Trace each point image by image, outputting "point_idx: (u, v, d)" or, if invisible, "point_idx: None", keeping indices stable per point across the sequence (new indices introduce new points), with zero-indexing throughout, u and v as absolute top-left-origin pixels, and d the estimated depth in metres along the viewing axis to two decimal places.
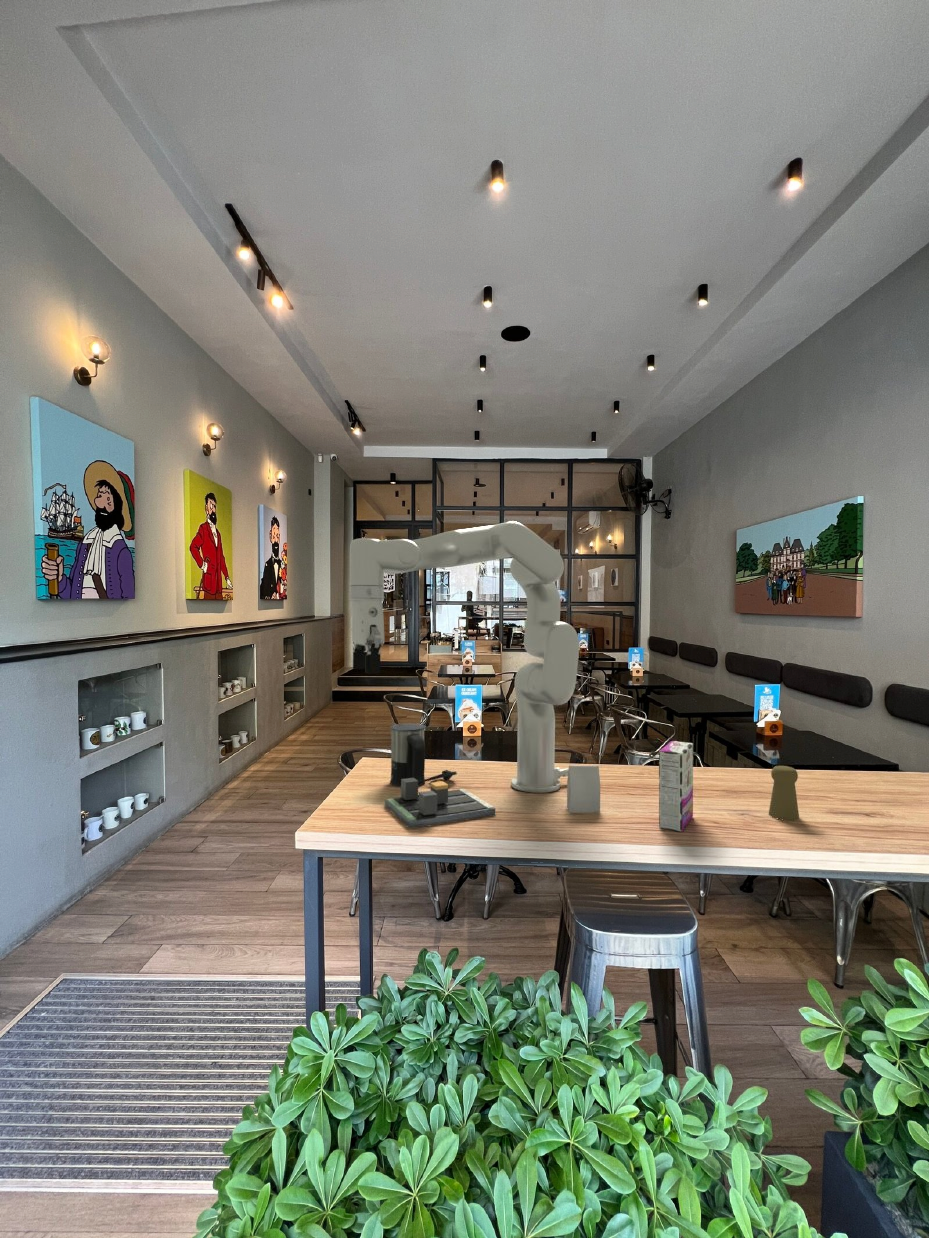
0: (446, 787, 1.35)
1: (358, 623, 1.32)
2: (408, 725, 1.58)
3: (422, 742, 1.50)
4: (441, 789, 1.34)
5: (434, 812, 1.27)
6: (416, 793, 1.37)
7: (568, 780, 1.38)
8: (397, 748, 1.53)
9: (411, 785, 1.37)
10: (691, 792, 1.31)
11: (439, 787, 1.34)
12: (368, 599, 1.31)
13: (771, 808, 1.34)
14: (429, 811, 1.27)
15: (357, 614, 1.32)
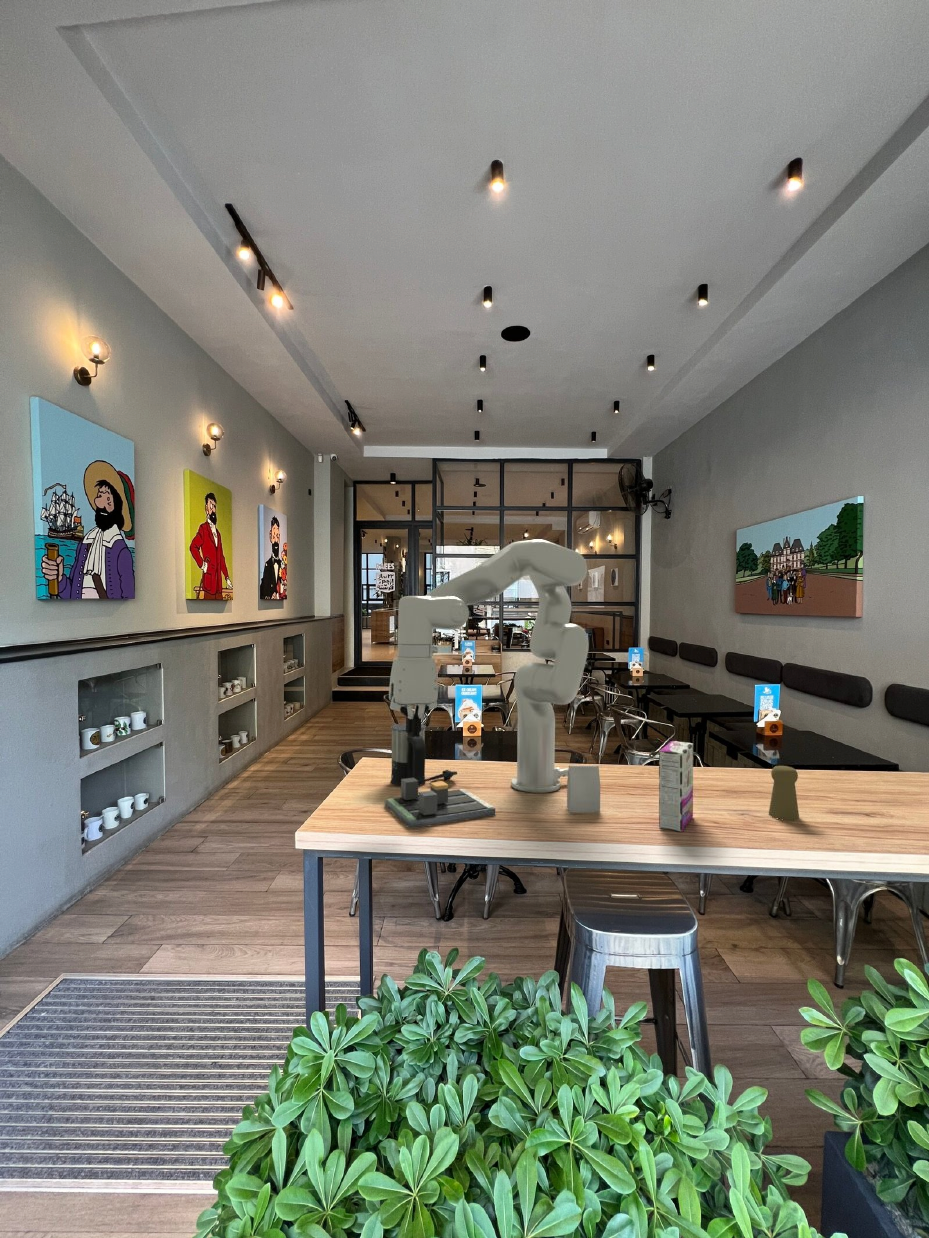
0: (446, 787, 1.35)
1: (426, 682, 1.31)
2: None
3: (422, 742, 1.50)
4: (441, 789, 1.34)
5: (434, 812, 1.27)
6: (416, 793, 1.37)
7: (568, 780, 1.38)
8: (398, 748, 1.53)
9: (411, 785, 1.37)
10: (691, 792, 1.31)
11: (439, 787, 1.34)
12: None
13: (771, 808, 1.34)
14: (429, 811, 1.27)
15: (424, 673, 1.31)
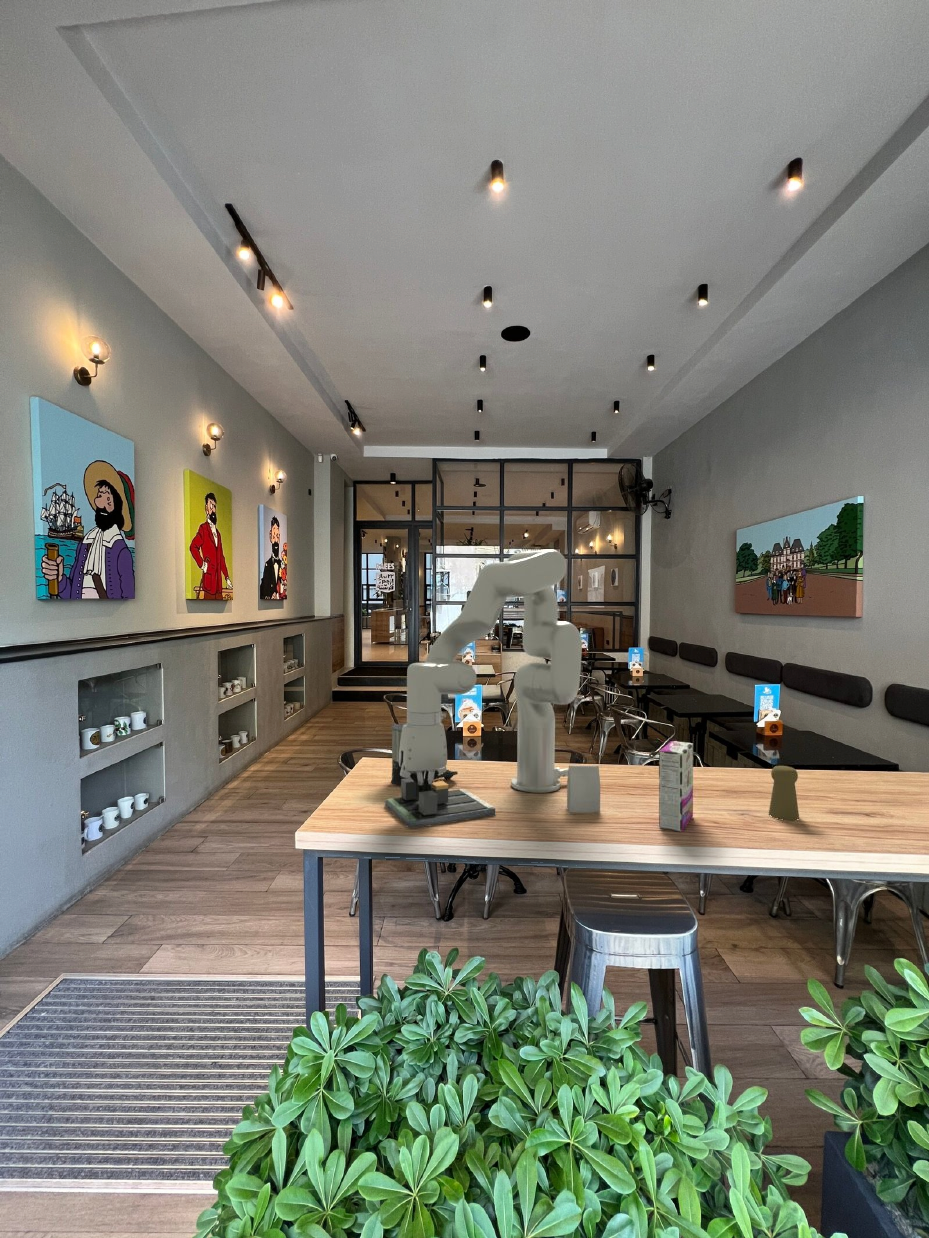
0: (446, 787, 1.35)
1: (435, 748, 1.32)
2: None
3: None
4: (441, 789, 1.34)
5: (434, 812, 1.27)
6: None
7: (568, 780, 1.38)
8: (398, 748, 1.54)
9: (411, 785, 1.37)
10: (691, 792, 1.31)
11: (439, 787, 1.34)
12: None
13: (771, 808, 1.34)
14: (429, 811, 1.27)
15: (433, 740, 1.32)
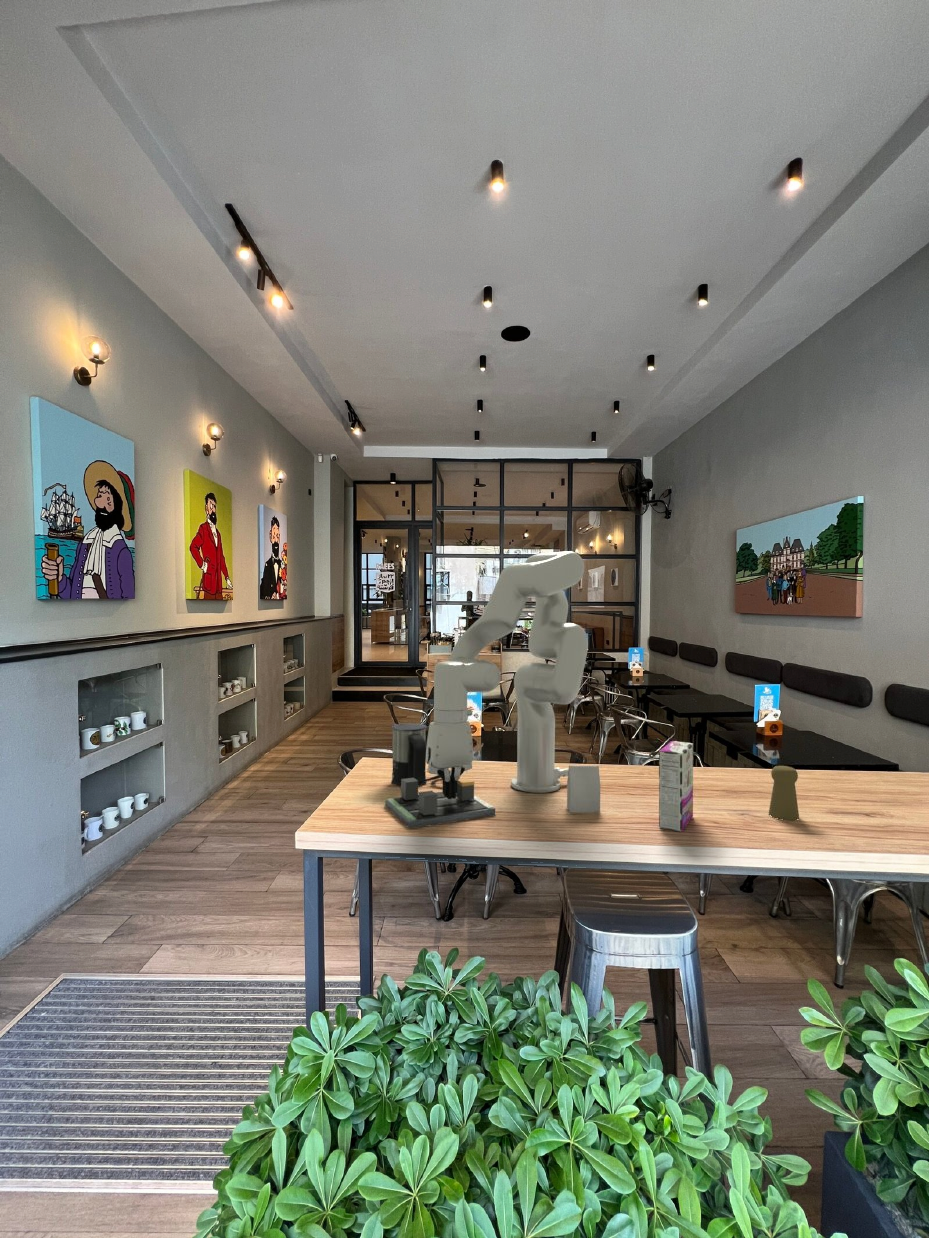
0: (472, 784, 1.37)
1: (462, 745, 1.35)
2: (409, 725, 1.59)
3: (423, 742, 1.50)
4: (467, 785, 1.37)
5: (434, 812, 1.27)
6: (416, 793, 1.37)
7: (568, 780, 1.38)
8: (399, 748, 1.54)
9: (411, 785, 1.37)
10: (691, 792, 1.31)
11: (465, 784, 1.37)
12: None
13: (771, 808, 1.34)
14: (429, 811, 1.27)
15: (460, 737, 1.35)
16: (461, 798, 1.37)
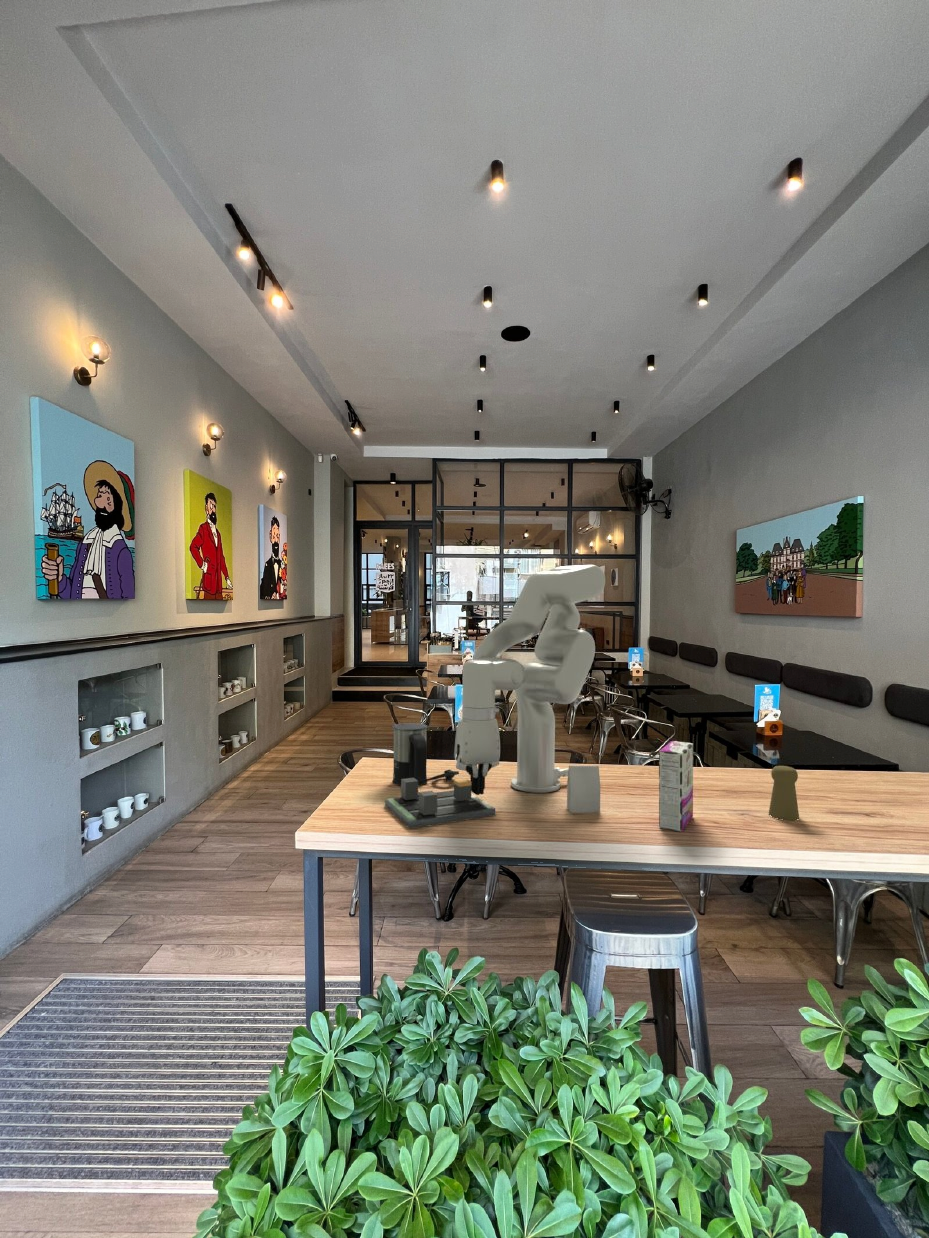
0: (469, 784, 1.37)
1: (490, 742, 1.38)
2: (410, 725, 1.59)
3: (424, 742, 1.50)
4: (464, 786, 1.37)
5: (434, 812, 1.27)
6: (416, 793, 1.37)
7: (568, 780, 1.38)
8: (400, 747, 1.54)
9: (411, 785, 1.37)
10: (691, 792, 1.31)
11: (463, 784, 1.36)
12: None
13: (771, 808, 1.34)
14: (429, 811, 1.27)
15: (488, 734, 1.38)
16: (458, 799, 1.36)
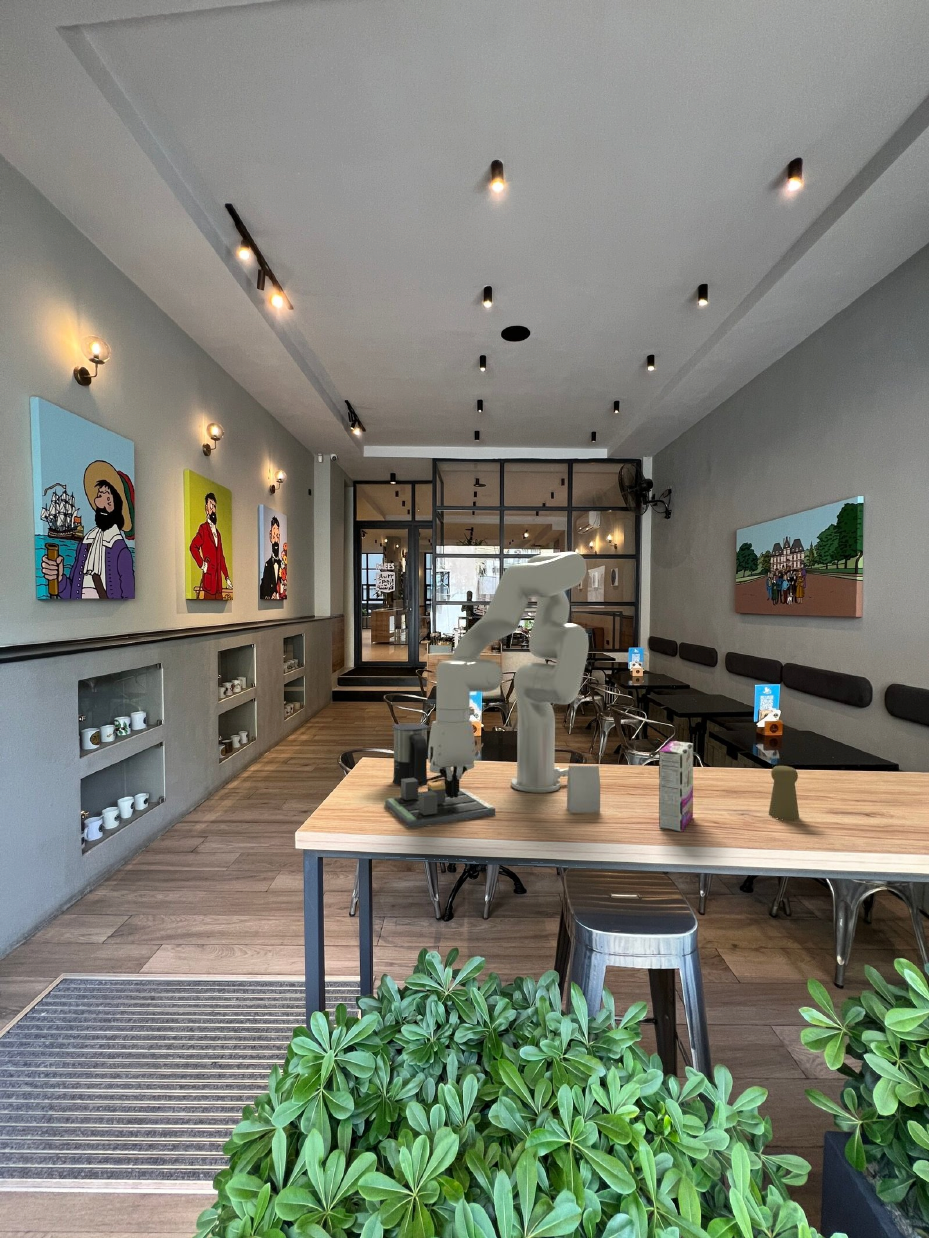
0: (443, 787, 1.34)
1: (464, 744, 1.35)
2: (411, 725, 1.59)
3: (424, 742, 1.50)
4: (438, 789, 1.34)
5: (434, 812, 1.27)
6: (416, 793, 1.37)
7: (568, 780, 1.38)
8: (400, 747, 1.54)
9: (411, 785, 1.37)
10: (691, 792, 1.31)
11: (436, 787, 1.34)
12: None
13: (771, 808, 1.34)
14: (429, 811, 1.27)
15: (462, 736, 1.35)
16: None
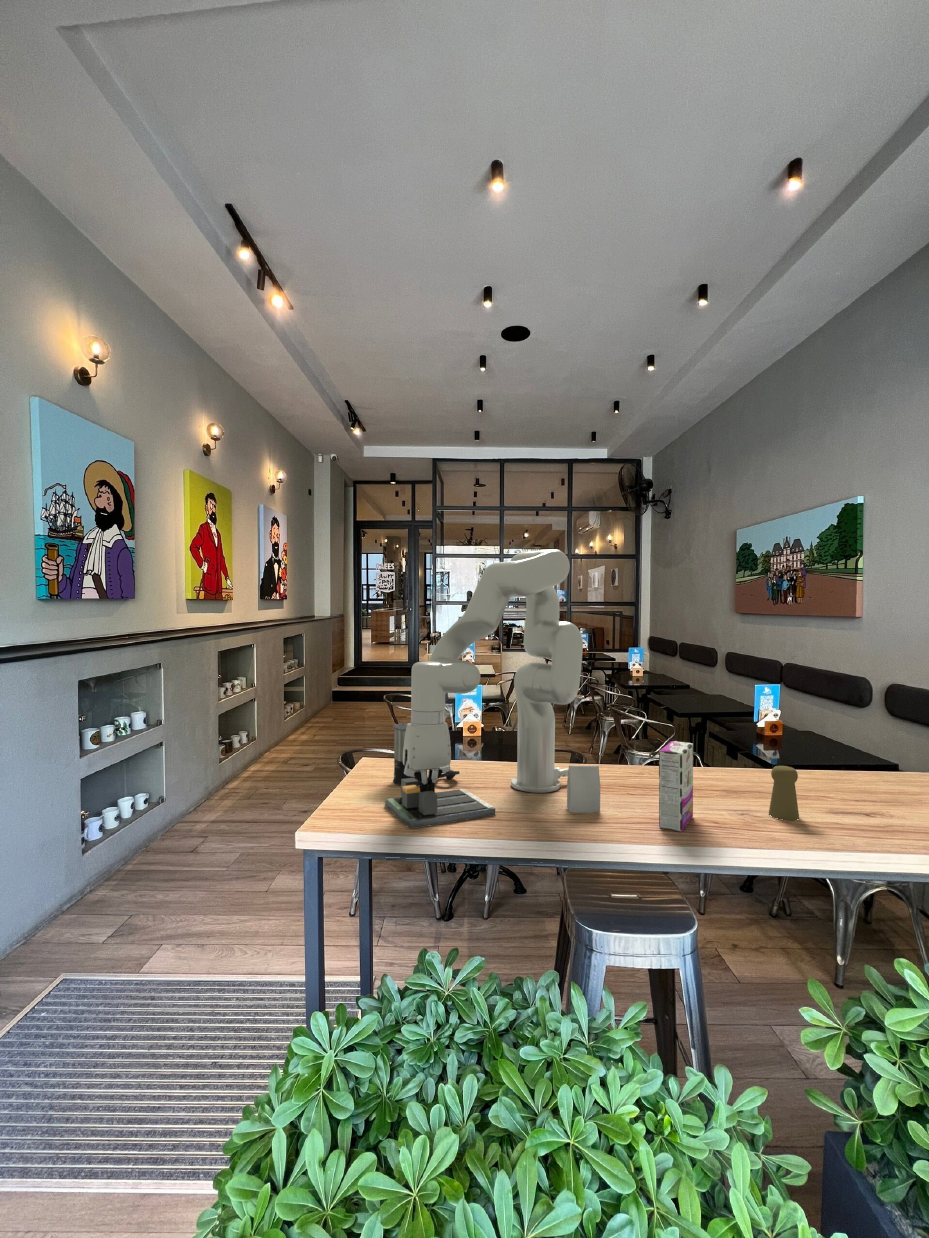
0: (418, 791, 1.32)
1: (439, 747, 1.33)
2: None
3: None
4: (412, 792, 1.31)
5: (434, 812, 1.27)
6: None
7: (568, 780, 1.38)
8: (400, 747, 1.54)
9: None
10: (691, 792, 1.31)
11: (410, 791, 1.31)
12: None
13: (771, 808, 1.34)
14: (429, 811, 1.27)
15: (437, 739, 1.32)
16: (406, 806, 1.31)
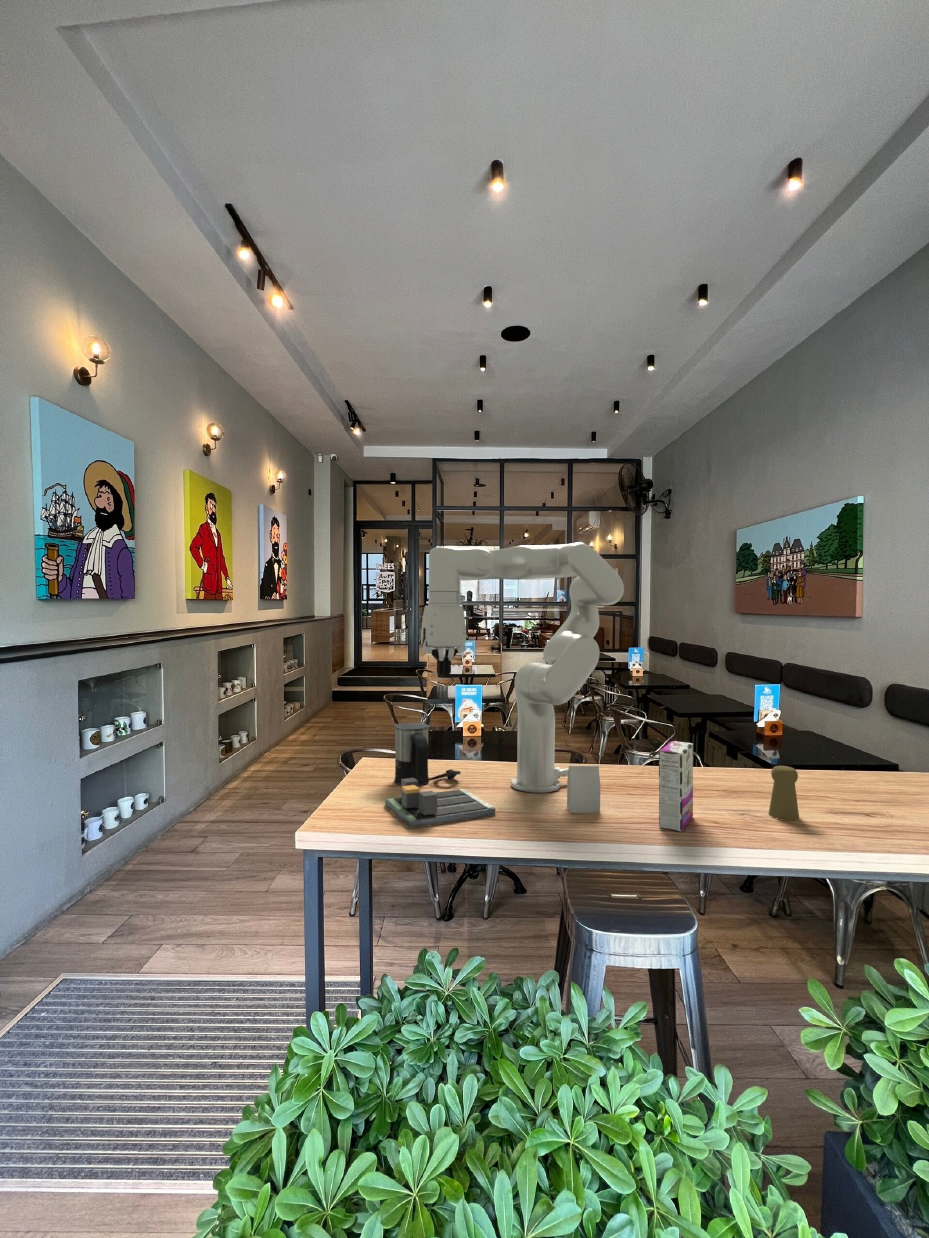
0: (417, 791, 1.32)
1: (455, 627, 1.42)
2: (412, 724, 1.59)
3: (425, 741, 1.51)
4: (412, 793, 1.31)
5: (434, 812, 1.27)
6: None
7: (568, 780, 1.38)
8: (401, 747, 1.54)
9: None
10: (691, 792, 1.31)
11: (410, 791, 1.31)
12: None
13: (771, 808, 1.34)
14: (429, 811, 1.27)
15: (453, 618, 1.41)
16: (405, 806, 1.31)
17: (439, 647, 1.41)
